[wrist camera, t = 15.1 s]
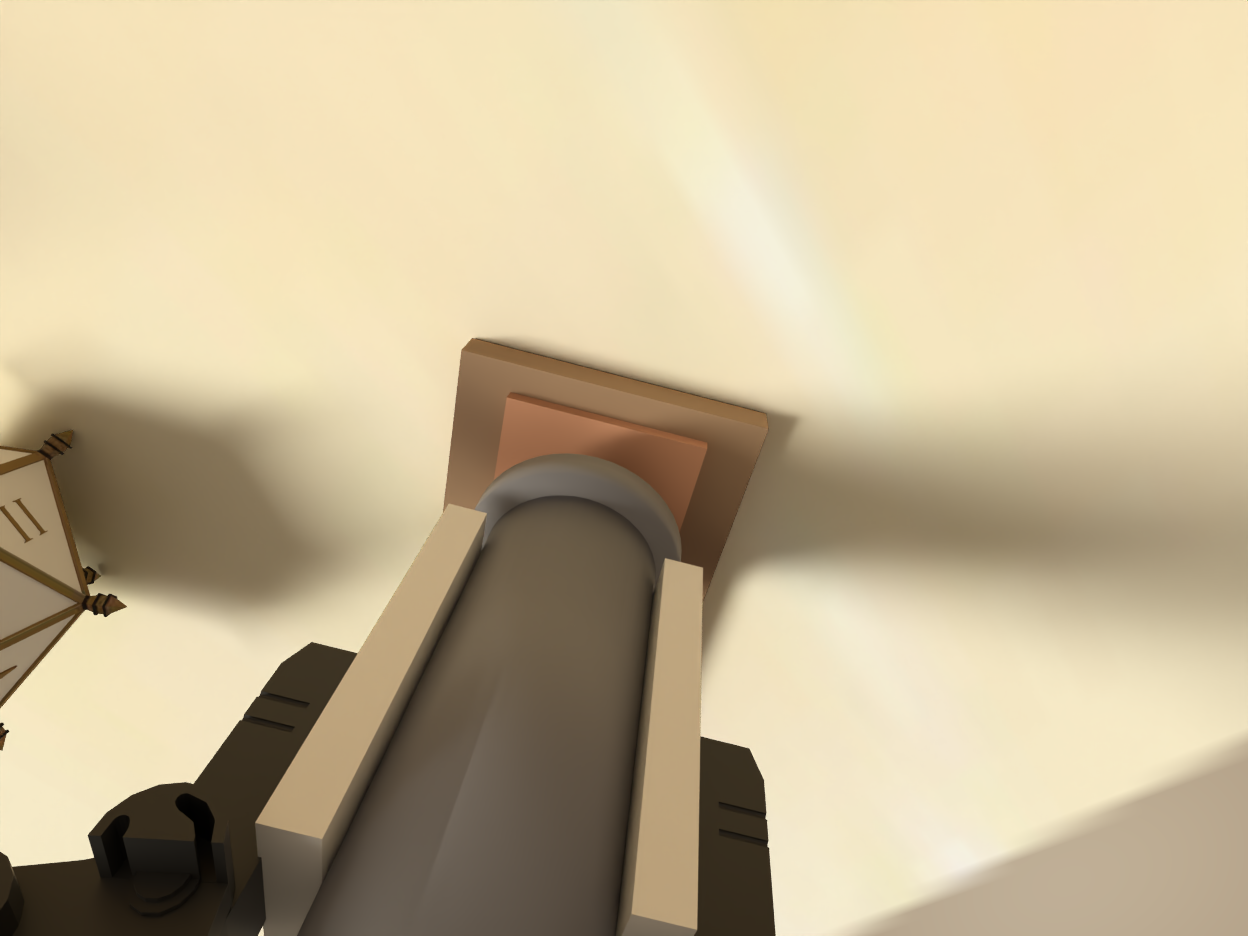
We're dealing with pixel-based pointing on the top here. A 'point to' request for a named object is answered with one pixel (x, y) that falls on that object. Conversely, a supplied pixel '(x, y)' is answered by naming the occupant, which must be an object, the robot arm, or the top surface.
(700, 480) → the track
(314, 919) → the pawn
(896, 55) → the top surface
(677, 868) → the robot arm
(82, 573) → the game die
